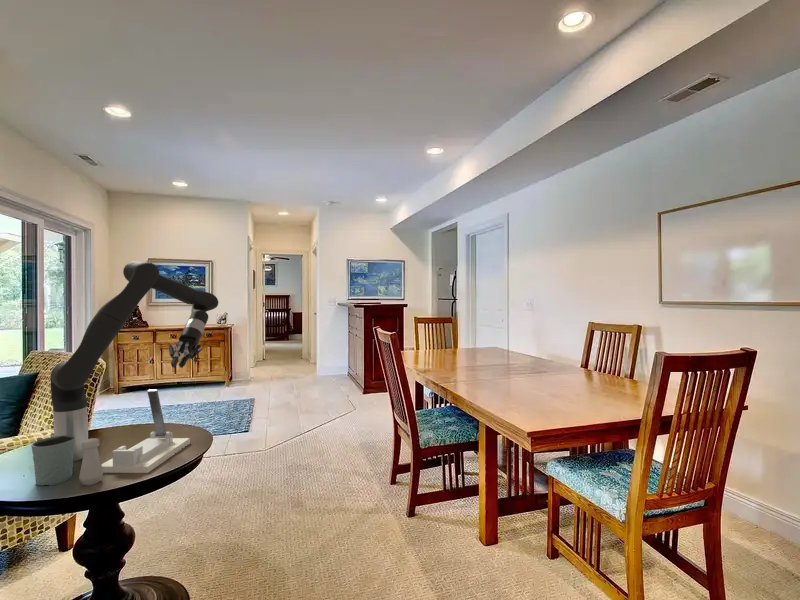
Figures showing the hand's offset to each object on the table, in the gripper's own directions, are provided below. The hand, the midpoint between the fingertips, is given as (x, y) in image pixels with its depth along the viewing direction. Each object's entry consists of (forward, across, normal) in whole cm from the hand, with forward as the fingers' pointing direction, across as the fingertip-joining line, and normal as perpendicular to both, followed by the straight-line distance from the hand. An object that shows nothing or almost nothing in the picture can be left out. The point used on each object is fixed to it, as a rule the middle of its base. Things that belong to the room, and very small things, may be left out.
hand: (176, 366), depth 162 cm
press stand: (+33, 0, +6) cm, 34 cm away
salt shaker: (+47, -5, -7) cm, 47 cm away
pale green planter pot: (+45, -18, -6) cm, 49 cm away
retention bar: (+20, 0, +1) cm, 20 cm away
